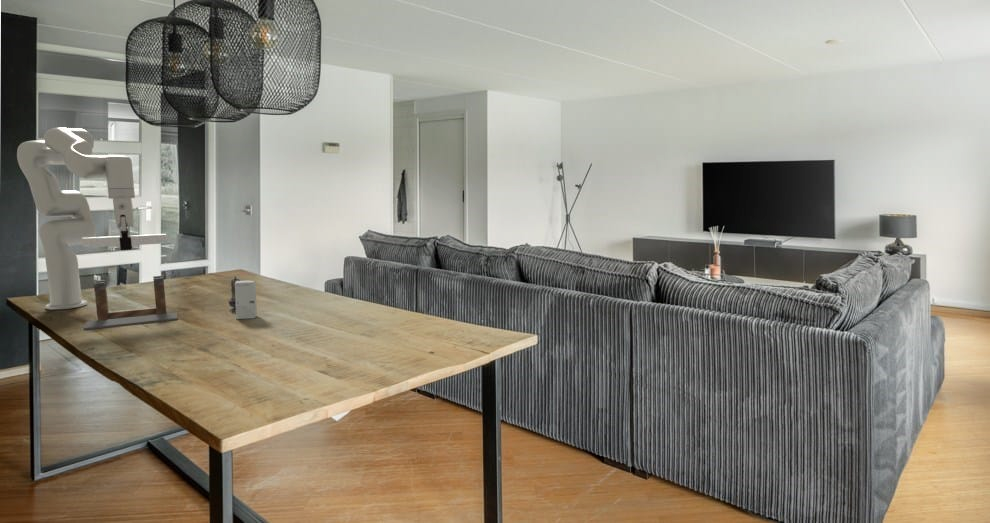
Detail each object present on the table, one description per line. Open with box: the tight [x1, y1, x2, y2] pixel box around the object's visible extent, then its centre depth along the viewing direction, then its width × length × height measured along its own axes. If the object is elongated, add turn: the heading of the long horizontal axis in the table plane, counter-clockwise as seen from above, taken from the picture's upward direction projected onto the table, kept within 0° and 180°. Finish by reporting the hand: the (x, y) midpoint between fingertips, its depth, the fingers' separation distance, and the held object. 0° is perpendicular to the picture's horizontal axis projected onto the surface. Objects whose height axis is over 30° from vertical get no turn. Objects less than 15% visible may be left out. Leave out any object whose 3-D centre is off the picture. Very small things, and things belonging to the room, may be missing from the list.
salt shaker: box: [227, 275, 241, 313], centre depth 217 cm, size 6×6×12 cm
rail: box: [81, 233, 168, 249], centre depth 208 cm, size 24×3×3 cm, turn 119°
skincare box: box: [235, 280, 258, 320], centre depth 206 cm, size 6×4×12 cm
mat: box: [82, 312, 179, 331], centre depth 202 cm, size 26×10×1 cm, turn 119°
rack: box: [93, 275, 167, 321], centre depth 210 cm, size 20×6×12 cm, turn 119°
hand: (126, 248), depth 208 cm, fingers closed on rail, 3 cm apart
